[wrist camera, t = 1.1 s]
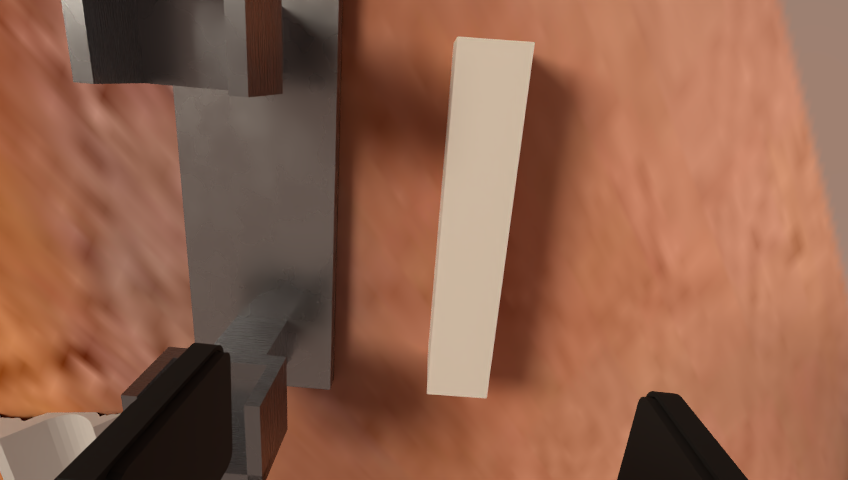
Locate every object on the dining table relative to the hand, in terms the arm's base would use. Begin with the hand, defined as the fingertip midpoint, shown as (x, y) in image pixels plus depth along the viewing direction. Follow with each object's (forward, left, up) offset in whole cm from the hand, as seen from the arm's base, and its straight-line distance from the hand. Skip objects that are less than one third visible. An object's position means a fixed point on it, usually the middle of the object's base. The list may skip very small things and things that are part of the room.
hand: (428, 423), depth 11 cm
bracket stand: (+1, -11, -22) cm, 25 cm away
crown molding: (+37, -28, -23) cm, 51 cm away
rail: (+1, +3, -23) cm, 23 cm away
